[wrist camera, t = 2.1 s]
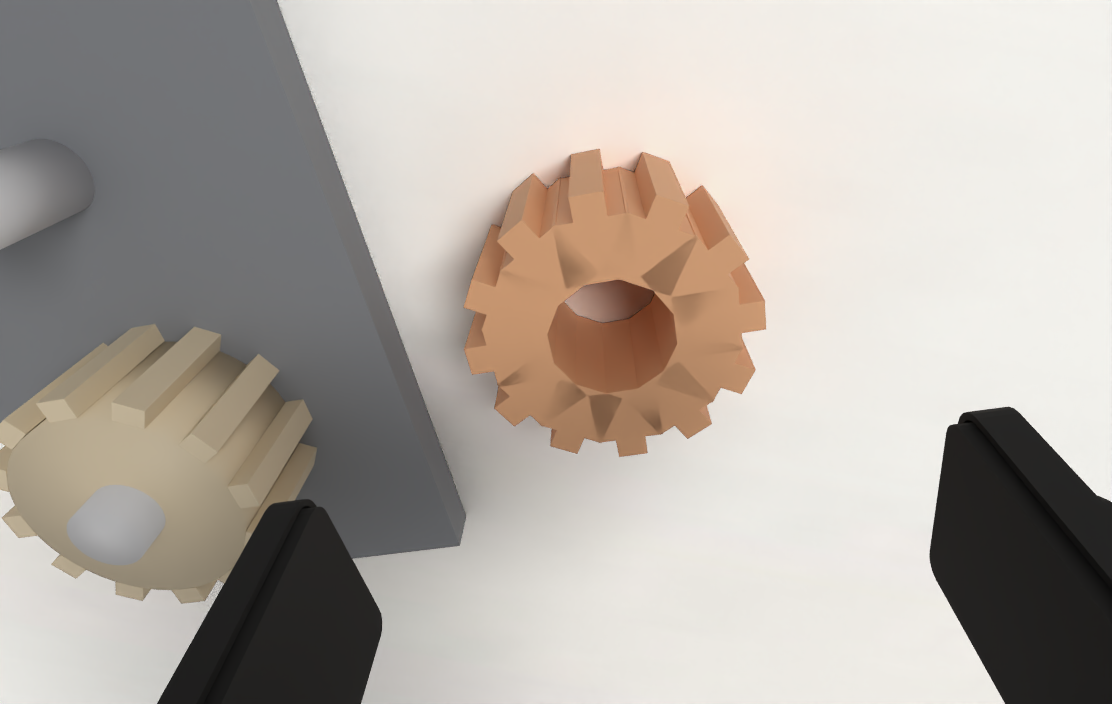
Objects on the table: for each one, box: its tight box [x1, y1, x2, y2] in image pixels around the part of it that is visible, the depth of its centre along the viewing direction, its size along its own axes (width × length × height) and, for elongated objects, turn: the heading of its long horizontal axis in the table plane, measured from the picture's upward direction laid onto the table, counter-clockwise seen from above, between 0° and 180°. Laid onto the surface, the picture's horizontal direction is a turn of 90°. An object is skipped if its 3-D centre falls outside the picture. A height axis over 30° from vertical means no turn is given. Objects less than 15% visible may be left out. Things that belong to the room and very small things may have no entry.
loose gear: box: [464, 149, 766, 457], centre depth 18 cm, size 8×8×4 cm
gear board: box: [0, 0, 466, 604], centre depth 18 cm, size 22×14×6 cm, turn 12°
